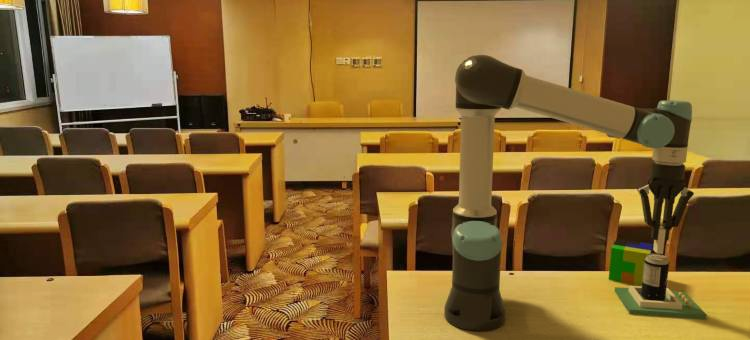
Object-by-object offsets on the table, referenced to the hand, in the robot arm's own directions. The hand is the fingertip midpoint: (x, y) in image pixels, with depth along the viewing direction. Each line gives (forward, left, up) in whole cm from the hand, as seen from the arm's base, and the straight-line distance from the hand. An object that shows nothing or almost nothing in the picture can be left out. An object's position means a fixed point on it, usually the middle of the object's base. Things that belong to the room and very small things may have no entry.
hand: (658, 251), depth 139 cm
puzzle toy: (-1, +18, -15) cm, 23 cm away
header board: (+1, 0, -15) cm, 15 cm away
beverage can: (0, 0, -14) cm, 14 cm away
